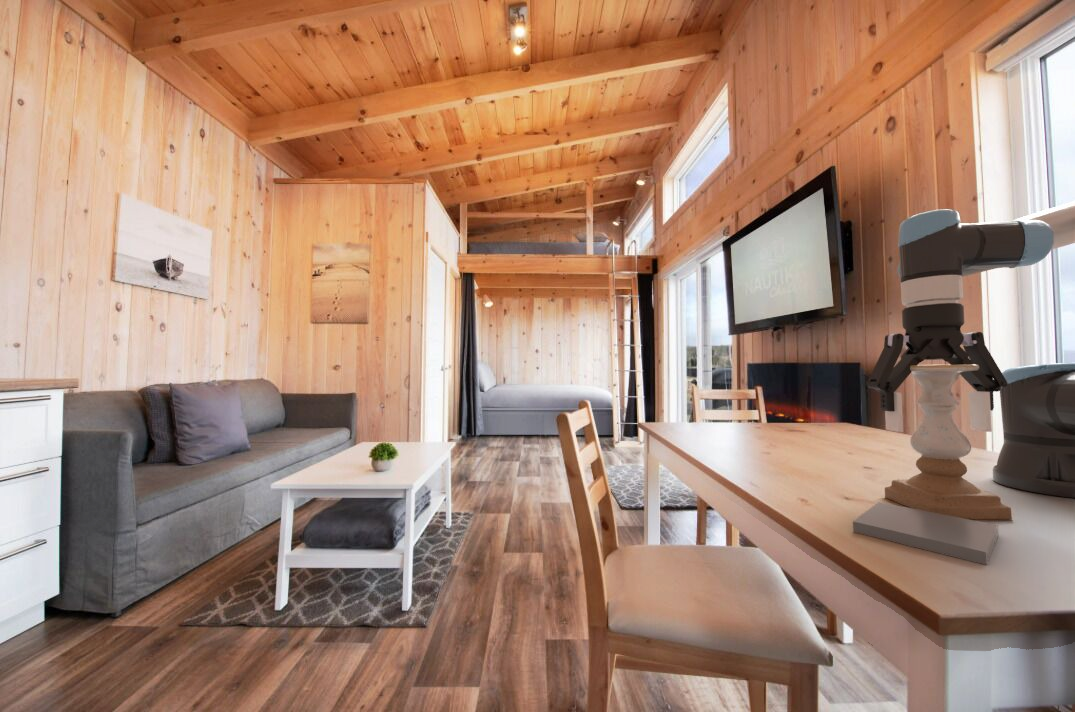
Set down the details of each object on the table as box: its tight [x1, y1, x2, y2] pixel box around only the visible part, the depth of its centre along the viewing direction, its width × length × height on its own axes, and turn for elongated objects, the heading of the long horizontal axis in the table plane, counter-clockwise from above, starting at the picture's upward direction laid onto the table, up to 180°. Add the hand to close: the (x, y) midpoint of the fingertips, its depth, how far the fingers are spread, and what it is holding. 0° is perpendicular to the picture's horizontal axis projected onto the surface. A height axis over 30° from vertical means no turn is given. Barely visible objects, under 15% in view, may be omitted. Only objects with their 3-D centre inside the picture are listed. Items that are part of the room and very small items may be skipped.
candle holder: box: [884, 363, 1013, 521], centre depth 68 cm, size 11×11×24 cm
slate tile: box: [852, 501, 999, 566], centre depth 58 cm, size 13×13×2 cm
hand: (937, 430), depth 68 cm, fingers open, 13 cm apart
